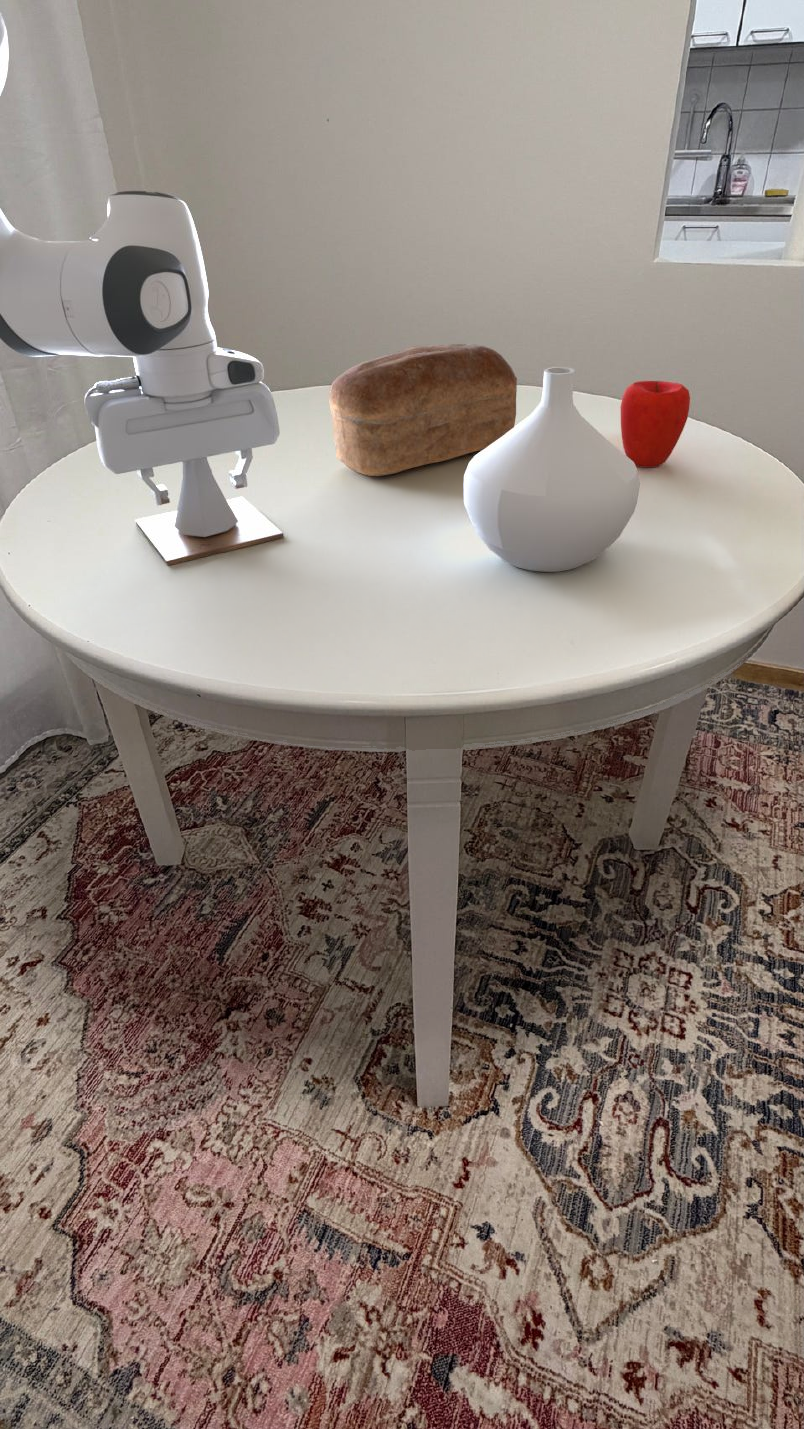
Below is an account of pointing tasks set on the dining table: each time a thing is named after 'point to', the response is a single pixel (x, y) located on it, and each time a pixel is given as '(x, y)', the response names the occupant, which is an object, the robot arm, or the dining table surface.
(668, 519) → the dining table surface
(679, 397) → the apple
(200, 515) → the flask
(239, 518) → the coaster
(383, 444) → the bread
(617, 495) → the vase
